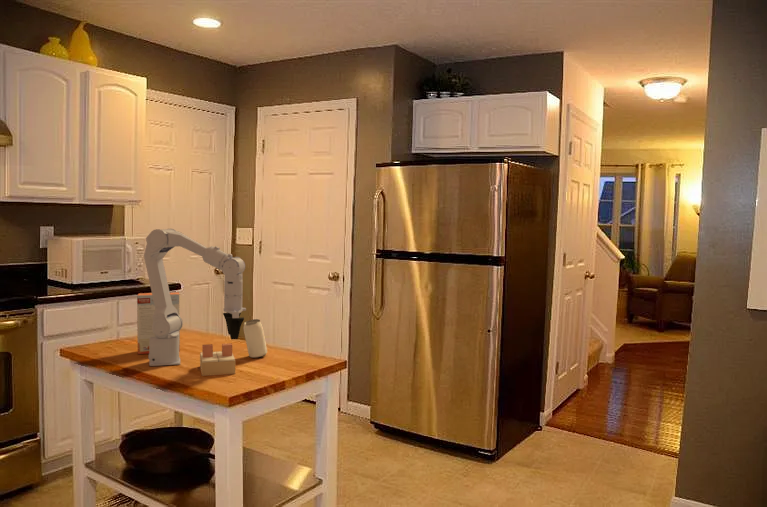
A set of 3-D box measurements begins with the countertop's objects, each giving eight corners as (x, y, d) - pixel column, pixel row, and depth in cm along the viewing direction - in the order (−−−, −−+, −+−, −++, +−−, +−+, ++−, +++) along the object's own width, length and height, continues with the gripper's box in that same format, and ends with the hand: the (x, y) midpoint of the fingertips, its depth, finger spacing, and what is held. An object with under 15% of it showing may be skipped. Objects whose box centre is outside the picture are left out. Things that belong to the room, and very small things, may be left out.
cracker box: (179, 348, 220) (179, 291, 219) (179, 352, 215) (179, 293, 213) (138, 350, 216) (138, 292, 215) (137, 354, 210) (136, 294, 209)
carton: (201, 375, 186) (201, 362, 185) (200, 366, 197) (200, 353, 197) (235, 373, 189) (235, 361, 189) (231, 364, 200) (231, 352, 200)
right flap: (219, 361, 187) (219, 348, 187) (216, 353, 198) (216, 341, 198) (234, 360, 189) (235, 348, 189) (231, 352, 200) (231, 340, 200)
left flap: (202, 362, 186) (202, 349, 185) (200, 353, 197) (200, 341, 196) (218, 361, 187) (218, 348, 187) (215, 353, 198) (215, 341, 198)
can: (254, 351, 216) (248, 319, 213) (270, 350, 214) (264, 318, 211) (245, 358, 210) (238, 325, 207) (262, 357, 208) (255, 324, 205)
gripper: (249, 297, 190) (248, 340, 191) (243, 291, 204) (242, 331, 205) (225, 298, 188) (225, 341, 189) (221, 292, 201) (221, 332, 202)
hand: (233, 336), depth 197 cm, fingers open, 7 cm apart
